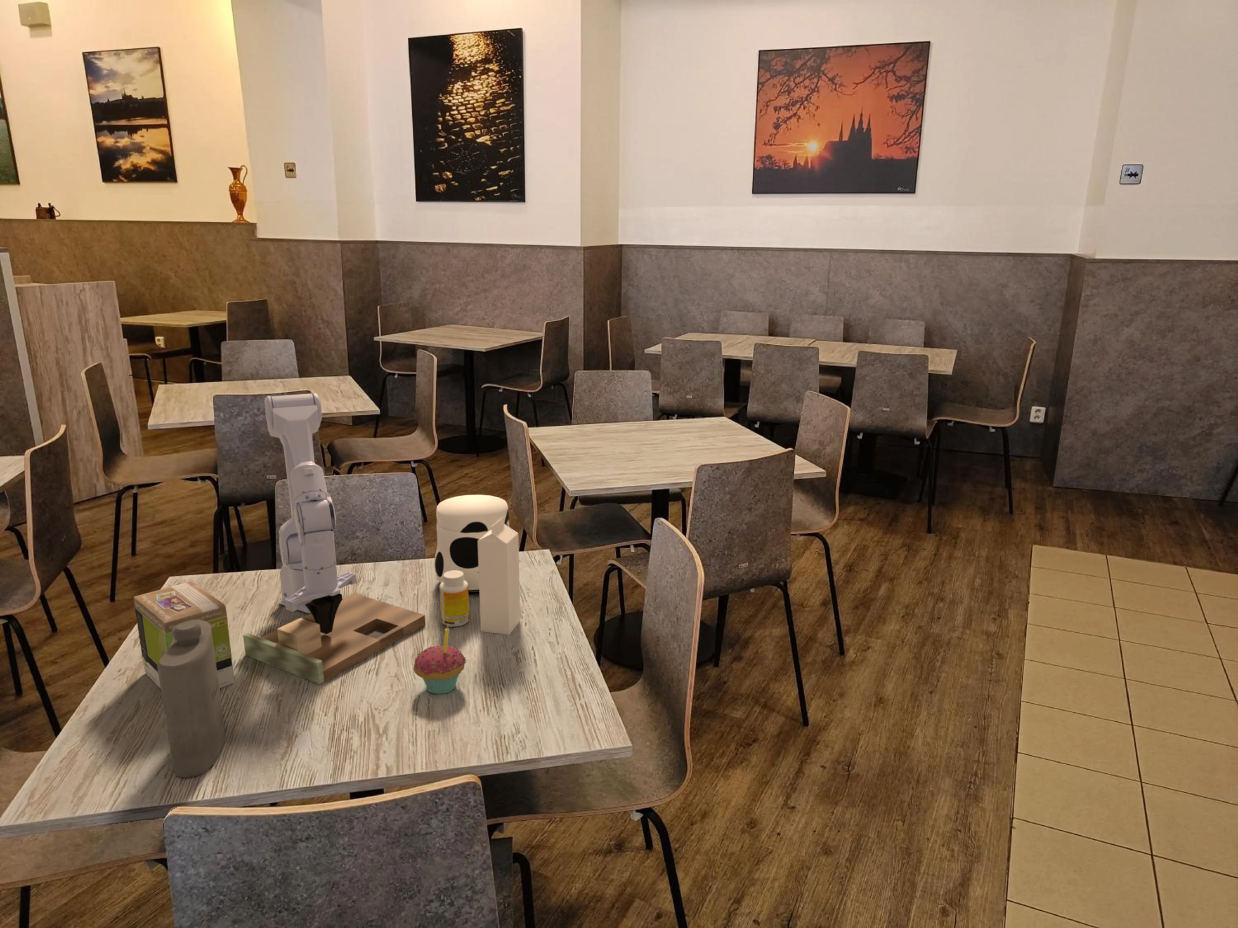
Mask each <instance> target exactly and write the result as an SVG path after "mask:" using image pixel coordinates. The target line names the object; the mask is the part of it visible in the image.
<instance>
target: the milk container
mask: <svg viewBox="0 0 1238 928" xmlns="http://www.w3.org/2000/svg"><path fill="white" fill-rule="evenodd" d="M435 511H436V512H435V513H436V514H435V519H436V539H437V546H436V550H435V551H436V552H435V555H434V561H433V562H434V563H433V564H434V566H433V567H434V572H435V576H436V579H437V581H438V582H439V584H441V583H442V582H443V574H444V573H445V572H448V571H452V570H458V571H461V572H463V574H464V580H465V581H466V582H467V583H468V593H477V592H478V593H480V592H479V565H478V540H479V539H480V538H482V537H483V536H484V535H485V534H486V533H487V532H489V531H490V530H491V528H492V525H494V524H495V523H496V522H497V521H498V520H499V519H501V518H502V517H504V524H505V525H507V526H508V527H510V521H509V518H510V516H509V515H510V512H509V506H508V503H507V501H506V500H505V499H503V498H501V497H497V496H493V495H489V494H487V495H486V494H467V495H466V494H464V495H458V496H454V497H449V498H446V499H445V500H443V501H441V502H439V503H438V505H437V506H436V510H435Z"/></svg>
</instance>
